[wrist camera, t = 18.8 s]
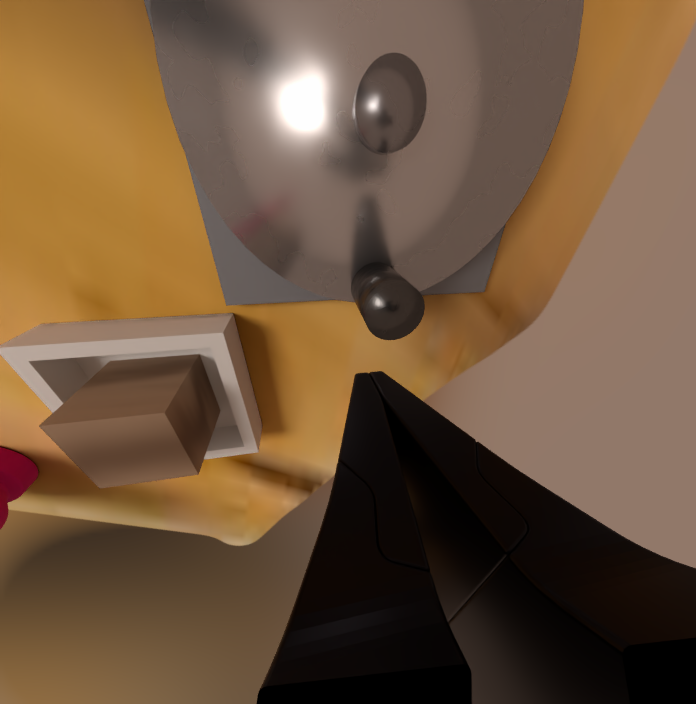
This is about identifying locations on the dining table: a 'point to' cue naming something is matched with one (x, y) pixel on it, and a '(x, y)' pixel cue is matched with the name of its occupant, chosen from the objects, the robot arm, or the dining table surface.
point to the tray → (144, 342)
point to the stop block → (138, 421)
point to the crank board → (269, 287)
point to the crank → (366, 131)
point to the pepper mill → (14, 478)
